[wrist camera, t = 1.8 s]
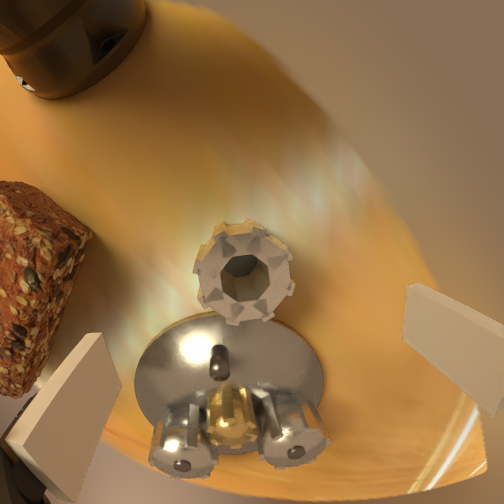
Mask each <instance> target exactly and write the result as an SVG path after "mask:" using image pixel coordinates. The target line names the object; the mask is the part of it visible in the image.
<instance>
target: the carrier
mask: <svg viewBox="0 0 504 504" xmlns="http://www.w3.org/2000/svg"><path fill="white" fill-rule="evenodd" d="M134 387H135V394H136V398H137V401H138V404H139V407H140V408H141V410H142V412H143V414H144V415H145V417H146V418H147V419H148V421H149V422H150V423H151V424H152V425H153V426H154V427H155V428H154V433H153V438H152V442H151V447H150V452H149V457H148V462H149V464H150V465H151V466H156V467H157V468H158V469H159V470H161V471H162V472H164V473H166V474H169V475H170V477H171V478H175V479H180V478H199V477H200V478H202V479H205V478H208V477H210V472H211V471H212V470H213V467H214V465H219V462H218V454H243V453H249V452H254V451H259V456H260V460H266V461H267V462H268V463H269V464H271V465H274V466H275V469H282V470H284V469H285V468H286V467H293V466H298V465H301V464H304V463H307V464H310V463H312V462H313V461H315V460H316V457H317V456H318V455H319V454H320V453H321V452H322V451H323V450H324V448H325V446H329V445H330V440H331V439H330V437H329V435H328V433H327V431H326V429H325V426H324V424H323V422H322V420H321V418H320V416H319V414H318V411H317V409H316V408H317V406H318V404H319V402H320V399H321V395H322V391H323V373H322V369H321V365H320V363H319V361H318V359H317V356H316V355H315V353H314V351H313V350H312V348H311V347H310V345H309V344H308V342H307V341H306V340H305V339H304V338H303V337H302V336H301V335H300V334H299V333H297V332H296V331H295V330H294V329H292V328H291V327H289V326H288V325H286V324H284V323H282V322H281V321H278V320H276V319H273V318H271V319H269V320H267V321H265V322H263V320H262V318H259V319H252V320H246V321H240V322H239V326H235V325H230V324H226V320H225V317H224V316H222V315H221V314H219V313H218V312H216V311H211V312H206V313H200V314H196V315H193V316H190V317H187V318H184V319H182V320H180V321H178V322H176V323H173V324H172V325H170V326H169V327H167V328H166V329H164V330H163V331H161V332H160V333H159V334H158V335H157V336H156V337H154V339H153V340H152V341H151V342H150V343H149V345H148V346H147V347H146V349H145V351H144V352H143V354H142V356H141V358H140V361H139V363H138V366H137V369H136V373H135V379H134Z"/></svg>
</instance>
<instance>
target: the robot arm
mask: <svg viewBox="0 0 504 504" xmlns="http://www.w3.org/2000/svg"><path fill="white" fill-rule="evenodd" d="M146 16H147V12H146V6H145V3H144V0H0V54H1V55H2V56H3V57H4V59H5V60H6V62H7V64H8V65H9V67H10V69H11V70H12V72H13V73H14V74H15V76H16V78H17V80H18V82H19V83H20V85H21V86H22V87H23V88H24V89H26V90H27V91H29V92H31V93H33V94H35V95H37V96H39V97H41V98H45V99H60V98H65V97H68V96H71V95H74V94H76V93H79V92H81V91H83V90H85V89H87V88H89V87H90V86H92V85H94V84H95V83H97V82H98V81H100V80H101V79H102V78H104V77H105V76H106V75H108V74H109V73H110V72H111V71H112V70H113V69H114V68H116V67H117V66H118V65H119V64H120V63H121V62H122V61H123V59H124V58H125V57H126V56H127V55H128V54H129V52H130V51H131V50H132V49H133V47H134V46H135V44H136V43H137V41H138V39H139V37H140V36H141V33H142V31H143V29H144V26H145V22H146ZM402 340H403V341H405V342H406V343H407V344H408V345H409V346H411V347H412V348H413V349H414V350H415V351H417V352H418V353H419V354H420V355H421V356H423V357H424V358H425V359H426V360H427V361H429V362H430V363H431V364H432V365H433V366H434V367H436V368H437V369H438V370H439V371H440V372H442V373H443V374H444V375H445V376H446V377H447V378H449V379H450V380H451V381H452V382H453V383H454V384H456V385H457V386H458V387H459V388H460V389H461V390H463V391H464V392H465V393H466V394H467V395H468V396H469V397H471V398H472V399H473V400H474V401H475V402H476V403H477V404H479V405H480V406H481V407H482V408H483V409H484V410H485V411H486V412H488V413H489V414H490V415H491V416H492V417H493V416H495V415H496V414H497V413H498V412H499V411H501V410H502V409H503V408H504V325H502V324H500V323H498V322H497V321H495V320H493V319H491V318H489V317H487V316H485V315H483V314H481V313H479V312H477V311H476V310H473V309H472V308H470V307H468V306H466V305H464V304H462V303H460V302H458V301H456V300H454V299H452V298H450V297H448V296H446V295H444V294H442V293H440V292H438V291H436V290H433V289H431V288H429V287H427V286H425V285H423V284H421V283H416V284H412V285H408V286H407V292H406V306H405V317H404V326H403V335H402ZM121 387H122V385H121V382H120V380H119V378H118V375H117V373H116V370H115V368H114V365H113V362H112V360H111V357H110V354H109V352H108V349H107V346H106V343H105V340H104V337H103V334H102V333H87V334H86V335H85V336H84V337H83V339H82V340H81V341H80V342H79V343H78V344H77V346H76V347H75V348H74V349H73V350H72V351H71V353H70V354H69V355H68V356H67V357H66V359H65V360H64V361H63V362H62V363H61V365H60V366H59V367H58V368H57V370H56V371H55V372H54V373H53V375H52V376H51V377H50V378H49V380H48V381H47V382H46V383H45V385H44V386H43V387H42V389H41V390H40V391H39V392H38V393H37V394H35V395H34V396H33V397H31V398H30V399H29V400H28V401H27V403H26V404H25V405H24V406H23V408H22V409H23V410H20V412H19V413H18V414H17V417H15V419H14V420H13V421H12V423H11V424H10V426H9V427H8V428H7V430H6V431H5V433H4V434H3V435H2V437H1V438H0V504H51V503H50V501H49V499H48V498H47V497H46V495H45V494H44V492H45V490H46V488H47V489H48V490H49V491H50V492H51V493H52V494H53V495H54V496H55V497H56V498H58V499H61V500H64V501H67V502H71V503H74V504H76V502H77V499H78V496H79V493H80V490H81V487H82V485H83V482H84V479H85V476H86V473H87V470H88V468H89V465H90V462H91V459H92V457H93V454H94V452H95V449H96V447H97V444H98V442H99V439H100V437H101V434H102V432H103V429H104V427H105V424H106V422H107V420H108V417H109V415H110V412H111V410H112V408H113V405H114V403H115V401H116V398H117V396H118V394H119V392H120V389H121Z"/></svg>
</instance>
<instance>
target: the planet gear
mask: <svg viewBox="0 0 504 504" xmlns="http://www.w3.org/2000/svg"><path fill="white" fill-rule="evenodd" d="M265 234H266V230H265V229H264V228H263V227H261V226H260V225H259V224H257V223H256V222H255V221H251V220H247V219H245V220H244V223H241V224H234V225H225V223H224V222H222V223H220V224H218V225H217V226H215V227H214V231H213V236H212V237H211V239H210V240H209V241H208V243H207V244H206V245H204V244H201V246H200V249H199V252H198V255H197V257H196V260H195V265H194V269H193V273H195V274H198V275H199V281H200V287H199V292H198V297H197V299H198V301H199V302H200V304H201V305H202V307H203V308H204V309H206V308H208V307H211V308H212V309H214V310H215V311H216V312H218V313H219V314H221V315H222V316H224V317H225V320H226V324H230V325H235V326H239V322H240V321H246V320H252V319H259V318H262V320H263V322H265V321H267V320H269V319H271V318H273V317H274V316H275V315H274V312H273V311H274V310H275V308H276V307H277V306H278V305H279V304H280V302H281V301H282V300H283V299H284V298H285V296H286V295H288V296H292V294H293V291H294V288H295V285H296V284H295V283H294V282H293V280H292V279H291V278H290V271H289V261H291V260H292V259H294V258H293V256H292V254H291V252H290V251H289V249H288V247H287V246H286V245H284V244H283V243H282V242H280V241H279V240H278V239H277V238H275V237H274V236H273V235H269V236H268V237H267V236H266V235H265ZM249 254H253V255H254V256H256V257H257V258H258V264H257V266H256V267H255V268H254V269H253V271H252V272H251V273H250V274H249V275H248V276H241V277H232V276H231V275H230V274H228V273H227V272H225V271H224V270H223V268H224V267H225V265H226V264H227V263H228V261H229V260H230V259H231V258H232V257H234V256H242V255H249Z"/></svg>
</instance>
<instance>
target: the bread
mask: <svg viewBox="0 0 504 504" xmlns="http://www.w3.org/2000/svg"><path fill="white" fill-rule="evenodd" d="M92 237H93V236H92V232H91V230H90V229H89V228H88V227H87V226H84V225H82V224H81V223H80V222H79V221H78V220H77V219H76V218H75V217H74V216H72V215H70V214H68V213H66V212H64V211H63V210H62V209H61V208H60V207H59V206H57V205H56V204H54V203H53V202H52V200H51V199H50V198H49V197H48V196H46V195H45V194H43V193H42V192H41V191H40V190H39V189H37V188H35V187H34V186H31V185H28V184H25V183H23V182H17V181H15V182H12V181H11V182H7V181H4V180H3V181H0V394H2V395H4V396H7V395H8V396H10V397H12V398H15V399H17V398H21V397H22V396H23V394H24V393H28V392H29V391H30V390H31V387H32V386H33V384H34V382H36V380H37V377H39V376H40V374H41V371H42V369H43V368H44V366H45V363H46V361H47V359H48V357H49V352H50V349H51V345H52V341H53V338H54V336H55V334H56V331H57V329H58V324H59V321H60V319H61V317H62V315H63V310H64V308H65V306H66V303H67V301H68V298H69V295H70V293H71V290H72V288H73V285H74V279H75V277H76V276H77V275H78V271H79V269H80V267H81V264H82V260H83V258H84V257H85V254H86V251H87V248H88V246H89V245H90V241H91V238H92Z"/></svg>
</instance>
